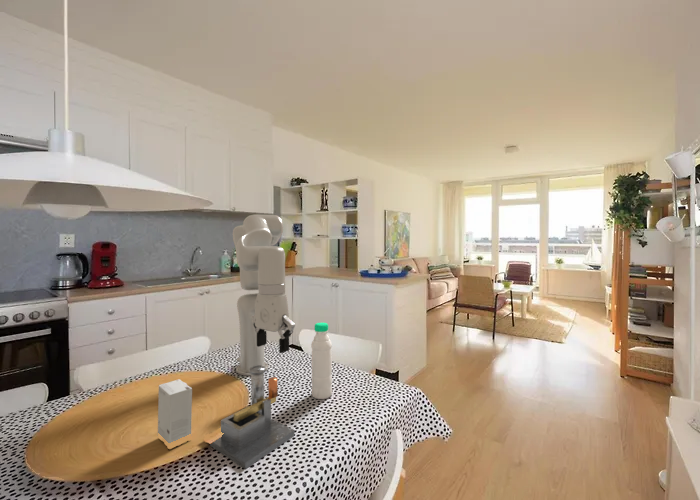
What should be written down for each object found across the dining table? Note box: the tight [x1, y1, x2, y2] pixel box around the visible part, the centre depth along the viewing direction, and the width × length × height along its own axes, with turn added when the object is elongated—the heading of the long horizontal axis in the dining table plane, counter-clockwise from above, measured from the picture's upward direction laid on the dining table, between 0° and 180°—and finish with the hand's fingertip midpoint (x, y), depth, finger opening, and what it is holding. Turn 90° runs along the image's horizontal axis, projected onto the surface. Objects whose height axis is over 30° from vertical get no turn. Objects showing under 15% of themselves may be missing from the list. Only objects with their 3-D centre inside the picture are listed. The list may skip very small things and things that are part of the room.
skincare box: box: [157, 378, 193, 443], centre depth 87 cm, size 8×6×15 cm
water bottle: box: [310, 322, 333, 400], centre depth 111 cm, size 7×7×25 cm
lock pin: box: [233, 376, 279, 422], centre depth 89 cm, size 3×14×7 cm, turn 144°
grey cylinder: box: [249, 365, 266, 405], centre depth 105 cm, size 5×5×12 cm
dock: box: [209, 396, 295, 470], centre depth 87 cm, size 18×16×9 cm
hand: (272, 348), depth 94 cm, fingers open, 9 cm apart
